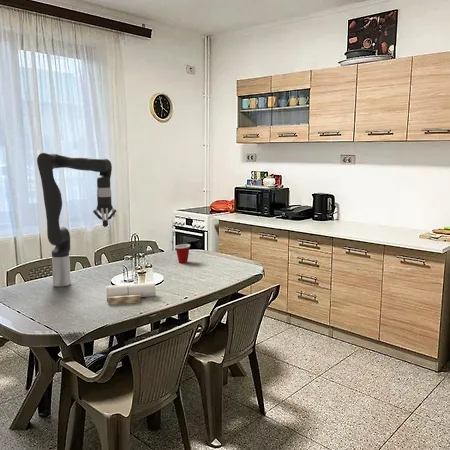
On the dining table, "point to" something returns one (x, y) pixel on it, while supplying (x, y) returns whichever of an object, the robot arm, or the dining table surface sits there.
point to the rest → (124, 299)
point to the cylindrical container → (132, 290)
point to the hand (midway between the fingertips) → (105, 226)
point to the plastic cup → (182, 252)
